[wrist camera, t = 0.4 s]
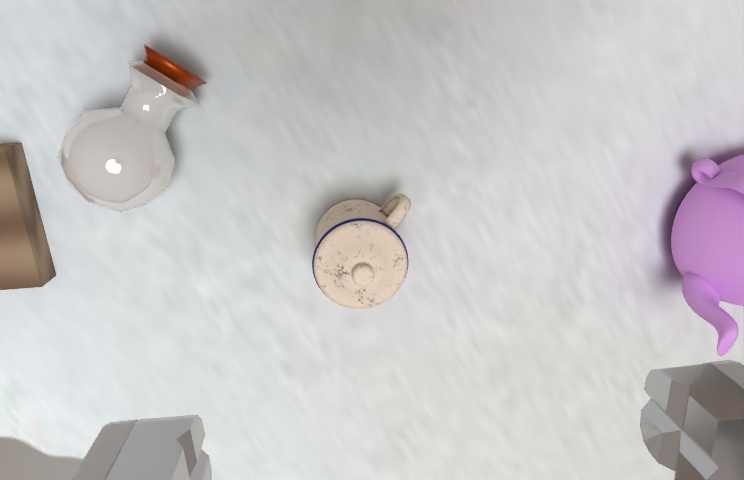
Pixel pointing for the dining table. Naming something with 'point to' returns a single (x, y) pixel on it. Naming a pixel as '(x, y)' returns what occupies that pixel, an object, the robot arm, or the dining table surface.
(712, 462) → the robot arm
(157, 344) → the dining table surface
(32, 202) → the holder
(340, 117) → the dining table surface
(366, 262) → the teacup with lid
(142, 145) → the potion bottle
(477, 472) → the dining table surface
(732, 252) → the teapot
